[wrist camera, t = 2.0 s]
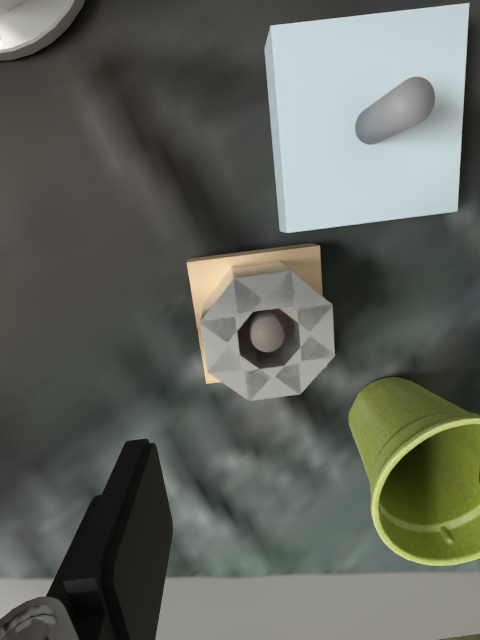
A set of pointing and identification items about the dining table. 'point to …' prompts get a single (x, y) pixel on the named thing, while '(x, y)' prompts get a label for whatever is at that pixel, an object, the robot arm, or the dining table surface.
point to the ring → (300, 331)
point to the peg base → (367, 116)
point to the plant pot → (420, 471)
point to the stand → (260, 324)
